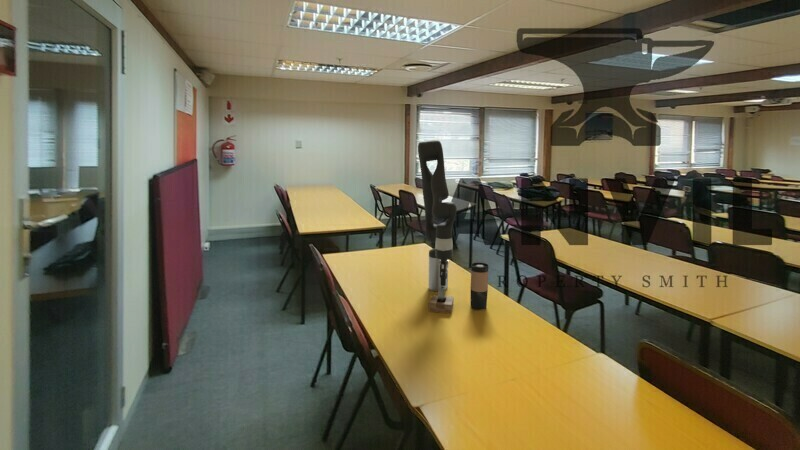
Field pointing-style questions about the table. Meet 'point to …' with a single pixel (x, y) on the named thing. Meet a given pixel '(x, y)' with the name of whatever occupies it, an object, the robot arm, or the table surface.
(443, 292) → the pin
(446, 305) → the slot block
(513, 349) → the table surface
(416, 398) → the table surface
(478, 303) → the travel mug
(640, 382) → the table surface
